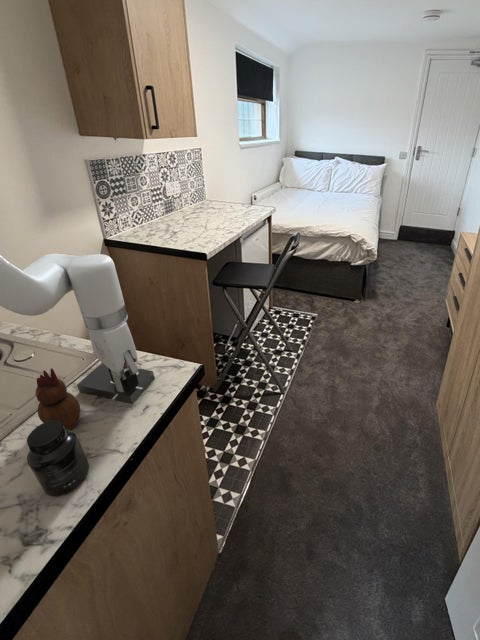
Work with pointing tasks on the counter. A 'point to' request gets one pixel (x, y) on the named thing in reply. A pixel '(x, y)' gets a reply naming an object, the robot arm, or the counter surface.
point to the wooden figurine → (56, 401)
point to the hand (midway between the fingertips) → (125, 382)
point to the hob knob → (118, 379)
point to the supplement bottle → (56, 458)
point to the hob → (113, 385)
